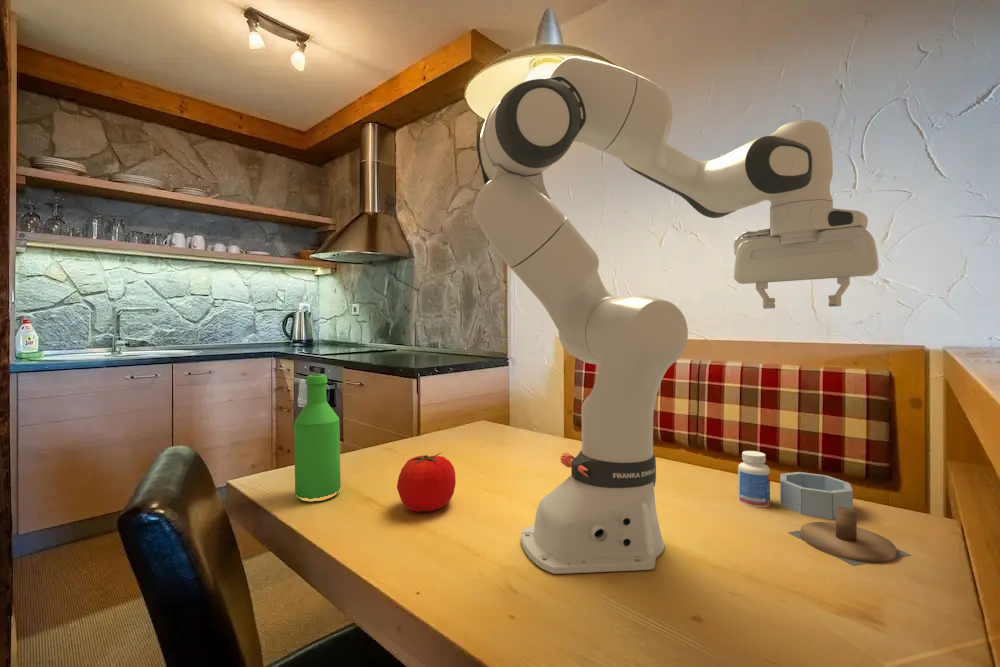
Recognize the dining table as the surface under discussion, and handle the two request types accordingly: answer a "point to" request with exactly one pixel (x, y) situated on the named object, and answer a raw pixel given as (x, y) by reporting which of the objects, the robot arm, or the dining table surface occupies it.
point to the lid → (848, 539)
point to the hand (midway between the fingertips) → (800, 307)
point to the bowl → (814, 494)
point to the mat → (852, 562)
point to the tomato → (426, 483)
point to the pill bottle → (754, 480)
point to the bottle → (317, 444)
